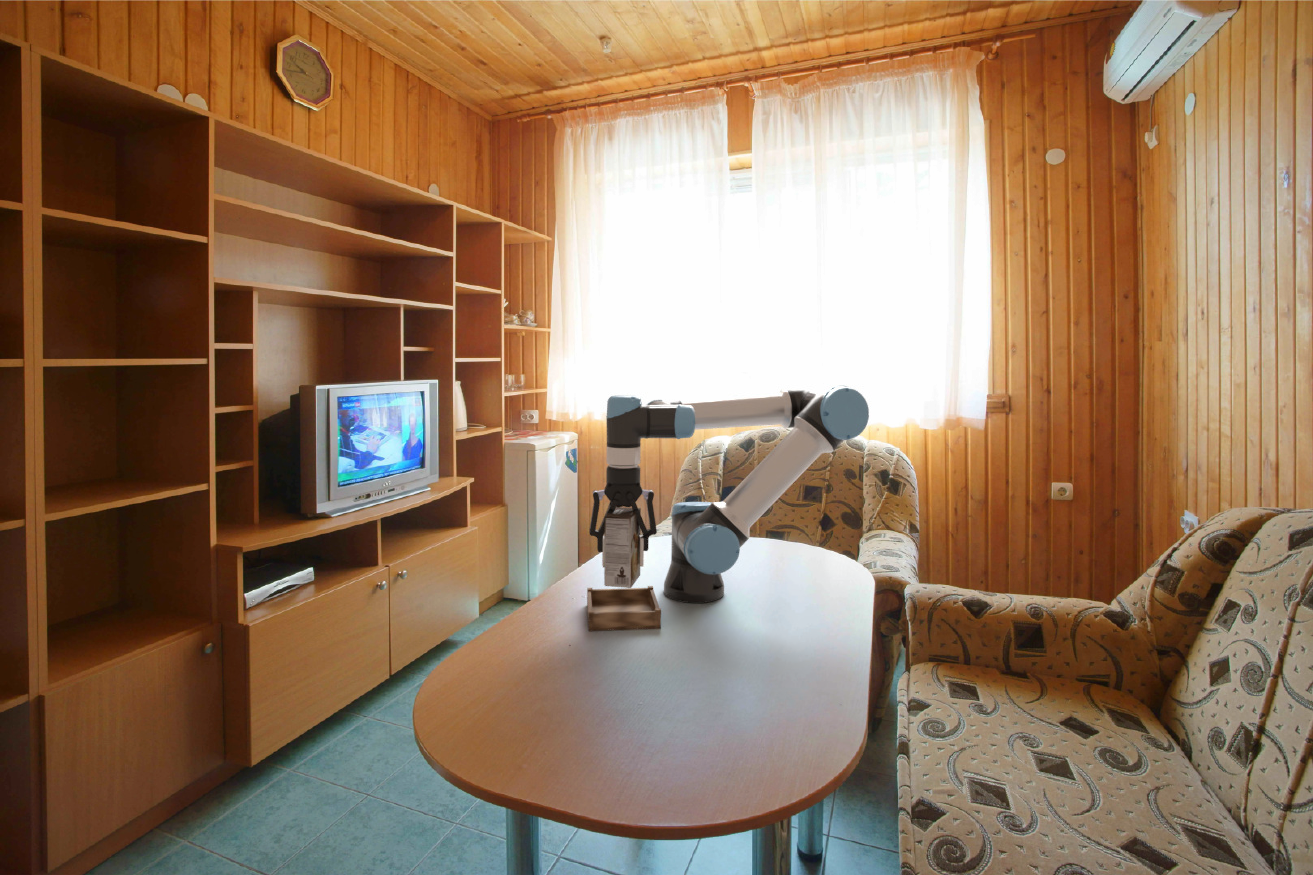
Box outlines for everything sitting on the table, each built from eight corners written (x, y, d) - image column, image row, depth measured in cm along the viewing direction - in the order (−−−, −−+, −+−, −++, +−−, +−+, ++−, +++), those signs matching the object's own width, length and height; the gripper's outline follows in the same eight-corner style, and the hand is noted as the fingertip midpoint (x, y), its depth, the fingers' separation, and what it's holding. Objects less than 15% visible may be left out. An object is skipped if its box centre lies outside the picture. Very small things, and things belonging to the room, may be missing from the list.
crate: (652, 602, 163) (652, 585, 163) (660, 628, 148) (660, 609, 147) (587, 604, 161) (587, 587, 161) (588, 631, 146) (588, 612, 145)
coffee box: (614, 573, 159) (614, 506, 157) (640, 575, 157) (641, 507, 156) (603, 586, 150) (603, 515, 148) (631, 588, 149) (632, 516, 147)
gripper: (667, 462, 155) (665, 559, 158) (576, 462, 153) (576, 561, 156) (671, 467, 148) (670, 569, 151) (576, 468, 146) (577, 571, 148)
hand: (622, 565), depth 153 cm, fingers closed on coffee box, 8 cm apart
